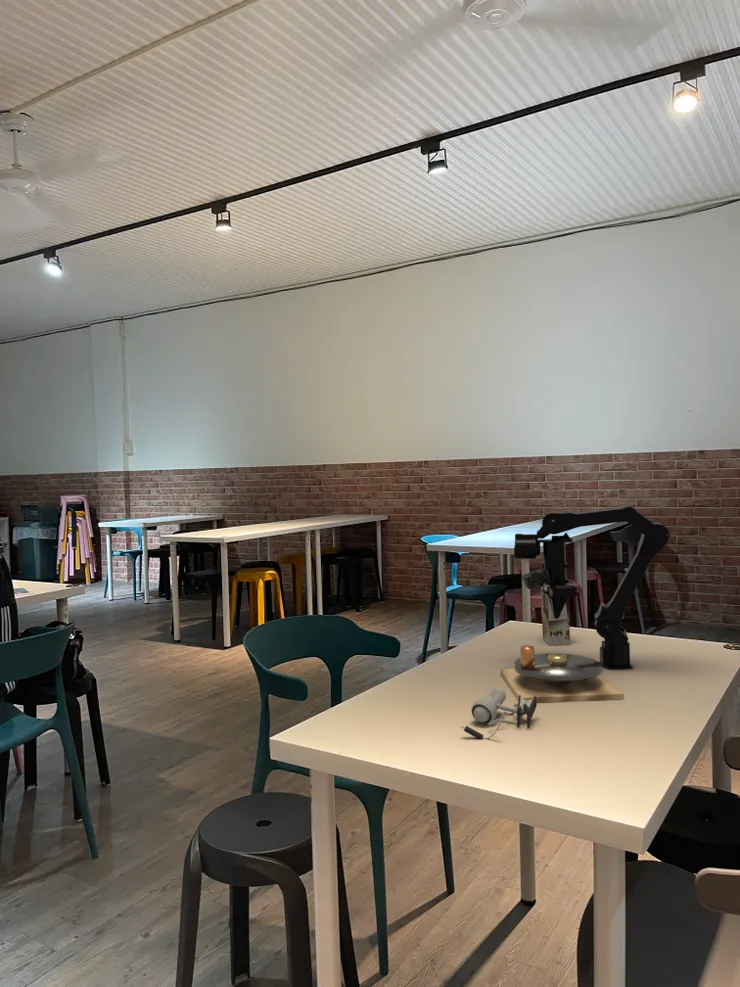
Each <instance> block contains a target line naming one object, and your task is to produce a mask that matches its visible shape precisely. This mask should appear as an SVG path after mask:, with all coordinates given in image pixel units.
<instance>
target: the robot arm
mask: <svg viewBox="0 0 740 987" xmlns="http://www.w3.org/2000/svg"><path fill="white" fill-rule="evenodd" d="M623 522H625V523H626V522H627V523H628V524H629V525H630V526H632V527H633V528H634V529H636V530H637V531H638V532H640V533H641V535H640V539H639V542H638V546H637V550H636V553H635V554H634V557H633V559H632V560H631V562H630V565H629V566H628V568H627V570H626V572H625V573H624V575H623V577H622V580H621V581H620V583H619V585H618V586H617V588H616V590H615V592H614V593H613V596H612V597H611V599H610V601H608V602H607V603H606V604H605V603H604V602H602V601H601V603H600V605H599V608H598V610H597V611H596V612H595V613H594V616H593V617H594V625H595V630H596V633H597V635H599V636H600V637H601V638H603V639H604V640H601V646H600V647H599V662H600V663H601V665H602V667H604V668H606V669H607V670H614V669H617V670H618V669H633V667H634V666H633V665H632V664H631V649H630V648H631V647H630V641H629V637H628V633H627V631H626V629H625V628H623V626H621V625H622V623H623V620H624V619H623V618H624V615H625V613H626V612H625V611H626V608H627V606H628V604H629V602H630V601H631V599H632V597H633V595H634V593H635V591H637V588H638V586H639V584H640V582H641V580H642V578H643V576H644V575H645V573H646V571H647V569H648V568H649V566H650V564H651V562H652V560H654V558H655V557H656V556H657V555H658V554H659V553H660V552H662V550H663V548H665V546H666V545H667V543H669V540H670V536H671V535H670V532H669V530H668V528H667V526H665V525H663V524H662V523H660V522H657V521H654V522H652V521H650V520H649V519H647V518H646V517H645V516H644V515H642V514H641V513H640V512H638V511H636V508H634V507H632V506H631V505H624V506H621V507H620V506H619V507H612V508H611V507H610V508H602V509H597V510H596V509H595V510H587V511H579V512H578V511H577V512H576V511H563V510H562V511H561V510H550V511H548V512H546V514H545V515H543V518H542V521H541V526H540V528H539V529H537V530H536V533H534V534H533V533H527V534H525V533H524V534H523V533H515V535H514V547H513V553H514V554H513V555H514V560H537V559H538V558H537V557H539V556H541V554H543V555H542V556H543V557H542V558H543V559H542V560H543V561H542V562H541V563H540V568H538V569H535V570H532V571H530V572H529V571H528V572H527V573H525V574H523V575H521V579H522V582H523V584H524V587H525V588H526V589H527V590H531V589H534V588H535V587H536V588H541V586H544V590H542V592H543V593H544V594H545V595H546V596H547V597H548V599H549V602H550V606H551V609H552V613H553V617H554V618H555V619H559V617H560V614H561V612H562V610H563V608H564V605H565V603H566V601H567V599H568V597H569V598H571V597H577V596H578V588H577V587H576V586H575V585H573V584H571V583H570V582H569V581H570V579H569V578H567V569H568V568H569V564H568V563H567V557H566V554H567V553H566V552H567V550H566V549H567V548H566V543H573V541H574V540H573V537H571V536H570V535H569V534H568V533H567V532H569V531H571V530H574V529H577V528H580V527H589V526H590V527H591V526H598V525H607V524H615V523H623ZM561 533H564V534H563V535H557V534H561ZM549 535H551V538H549V539H548V538H547V537H548V536H549ZM546 538H547V539H546ZM541 543H542V546H541ZM541 547H542V548H541Z"/></svg>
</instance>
